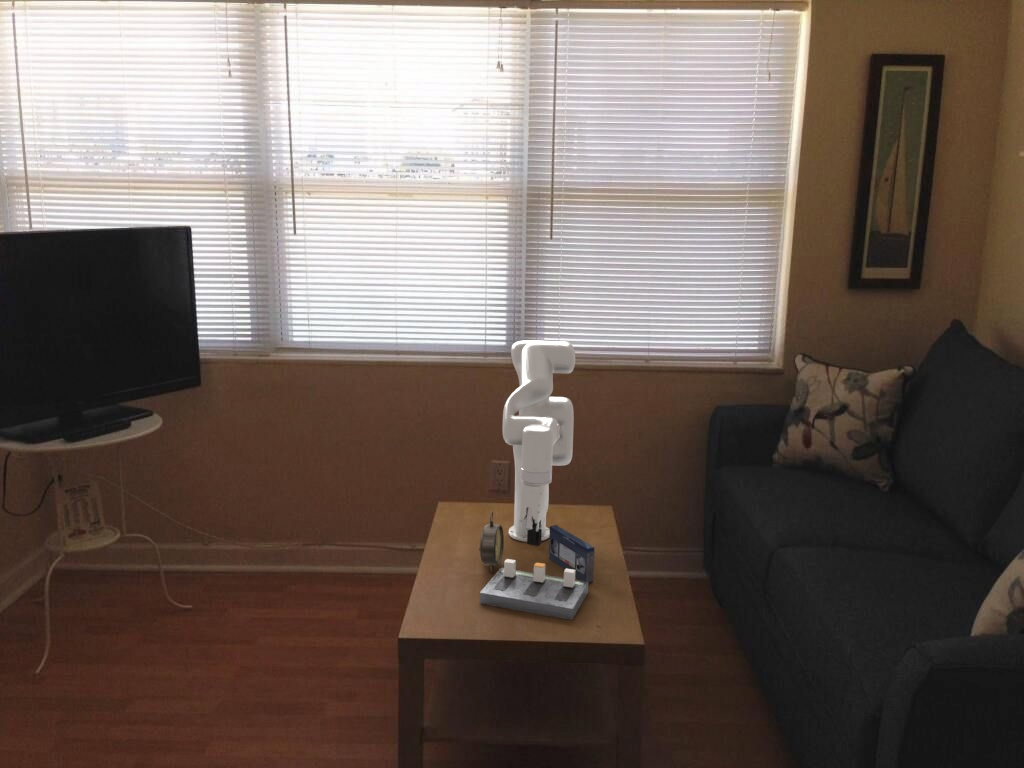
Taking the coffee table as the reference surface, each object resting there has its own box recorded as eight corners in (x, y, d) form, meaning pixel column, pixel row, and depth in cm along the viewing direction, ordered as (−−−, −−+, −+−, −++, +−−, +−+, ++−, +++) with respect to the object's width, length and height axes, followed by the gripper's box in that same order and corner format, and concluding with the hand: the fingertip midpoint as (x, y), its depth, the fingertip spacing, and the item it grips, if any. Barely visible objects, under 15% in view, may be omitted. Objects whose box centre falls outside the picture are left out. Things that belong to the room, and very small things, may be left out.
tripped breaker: (535, 577, 236) (536, 562, 235) (544, 579, 235) (545, 563, 234) (533, 580, 234) (533, 565, 233) (542, 582, 233) (543, 566, 232)
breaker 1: (506, 573, 238) (506, 558, 237) (515, 574, 238) (515, 560, 237) (503, 576, 236) (504, 561, 236) (513, 577, 236) (513, 563, 235)
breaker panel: (500, 578, 243) (500, 567, 242) (588, 592, 236) (588, 581, 235) (479, 603, 228) (479, 592, 228) (572, 620, 221) (572, 608, 220)
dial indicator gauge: (495, 575, 244) (497, 518, 241) (476, 573, 246) (477, 517, 242) (504, 559, 255) (505, 504, 251) (485, 557, 256) (486, 503, 252)
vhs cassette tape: (548, 559, 256) (549, 525, 254) (556, 557, 258) (558, 524, 256) (584, 584, 241) (585, 549, 239) (593, 582, 242) (595, 547, 240)
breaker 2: (565, 582, 233) (566, 568, 233) (574, 584, 233) (575, 569, 232) (563, 586, 232) (563, 571, 231) (572, 587, 231) (573, 572, 230)
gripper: (530, 463, 231) (528, 530, 236) (512, 483, 217) (510, 553, 222) (559, 467, 229) (556, 534, 233) (542, 487, 215) (539, 558, 220)
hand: (534, 543), depth 228 cm, fingers closed
